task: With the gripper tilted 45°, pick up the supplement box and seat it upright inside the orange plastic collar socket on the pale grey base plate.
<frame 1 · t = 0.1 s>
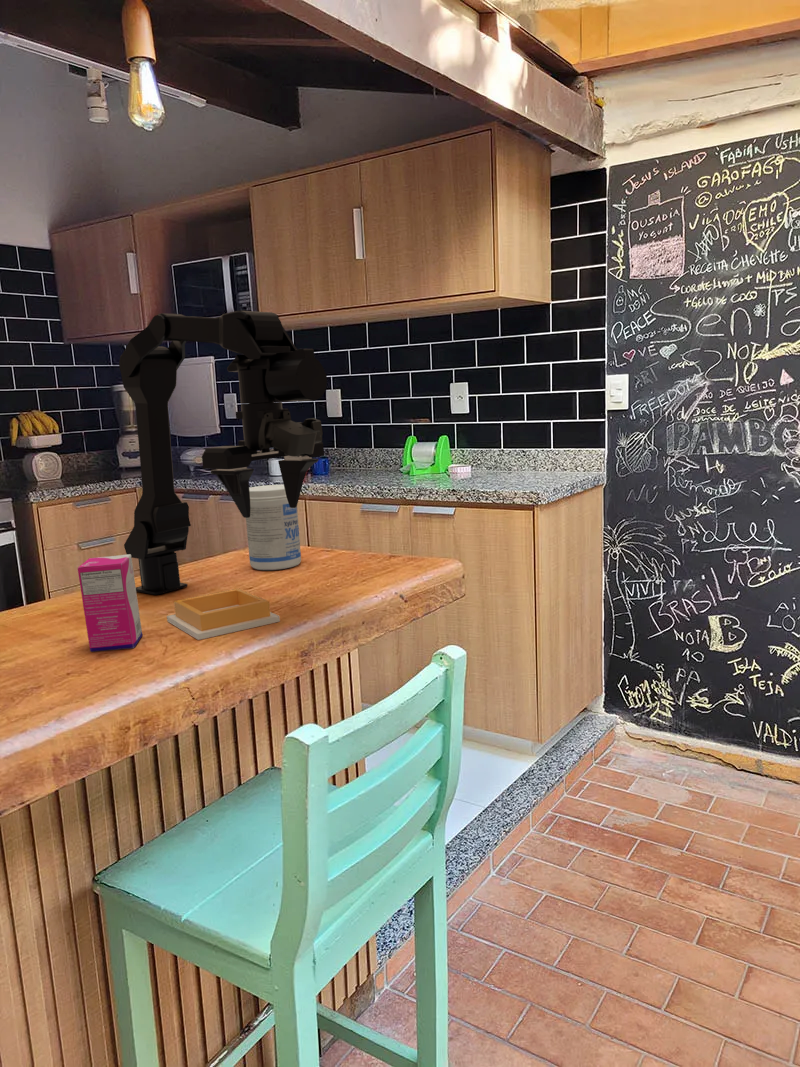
hand: (270, 512, 117), 15 cm above the worktop, tool pointing down, fingers open, 9 cm apart
supplement tub: (276, 566, 151), on the worktop
collar socket: (222, 621, 116), on the worktop
supplement box: (116, 645, 108), on the worktop
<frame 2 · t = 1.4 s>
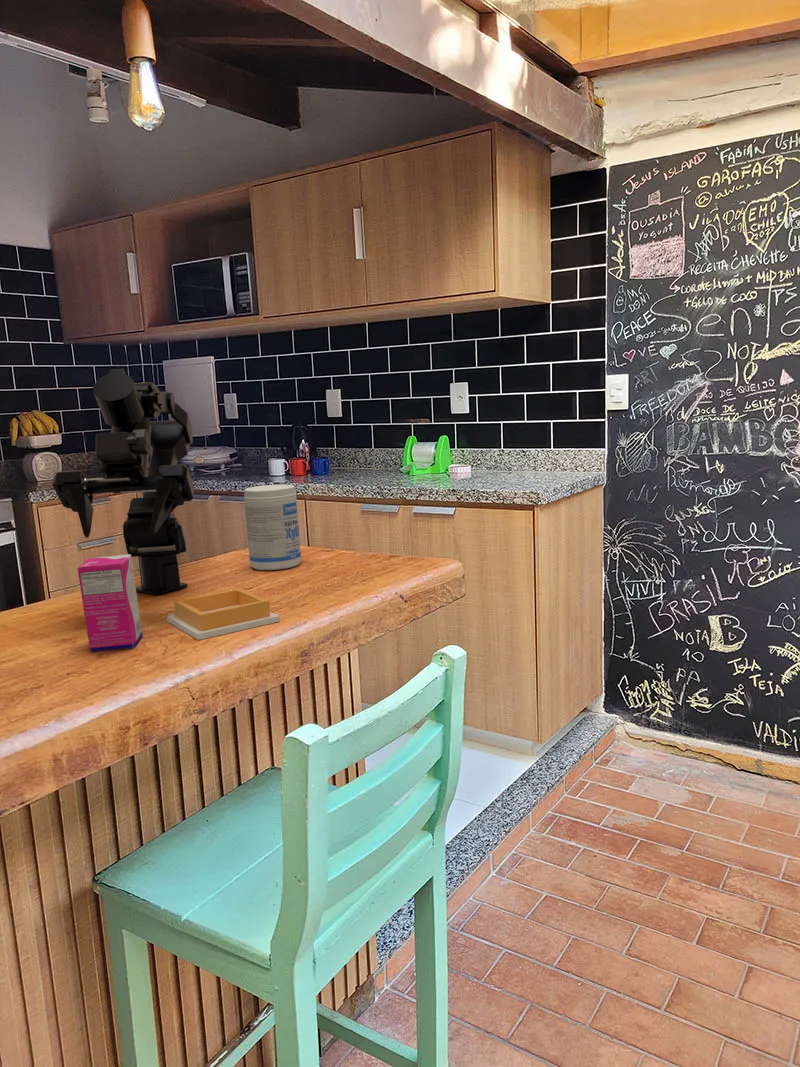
hand: (119, 533, 113), 13 cm above the worktop, tool tilted 45°, fingers open, 9 cm apart
nothing on the worktop moved.
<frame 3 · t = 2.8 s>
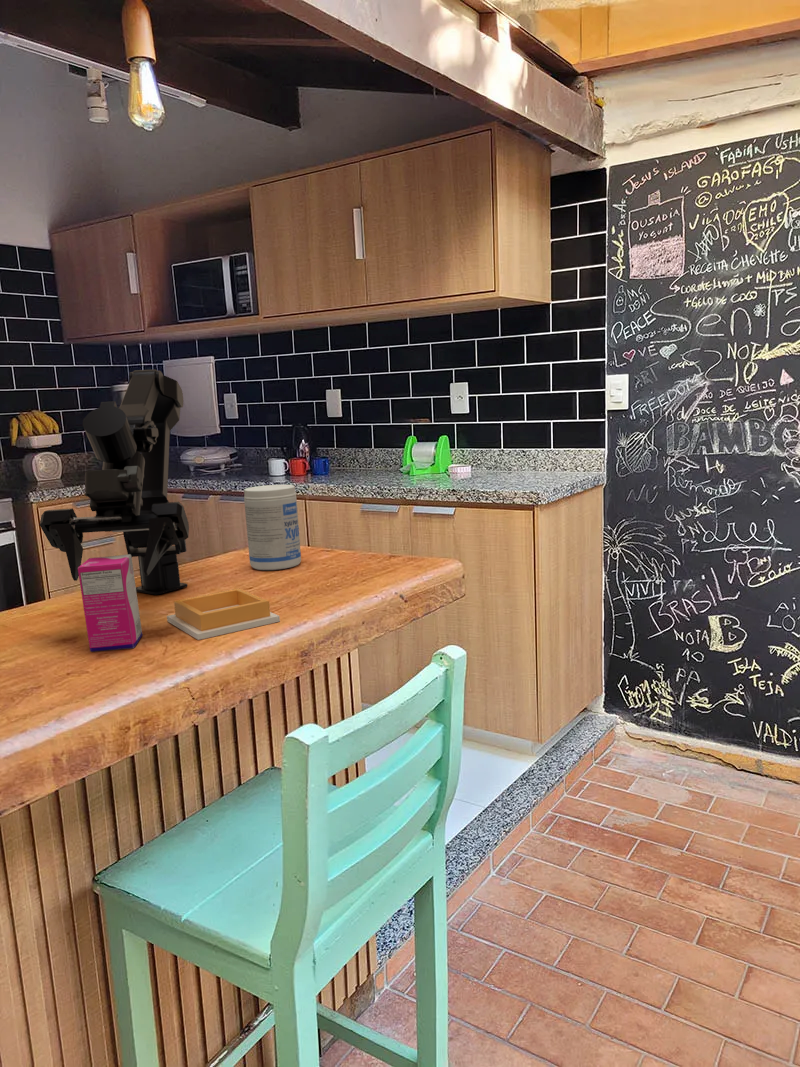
hand: (110, 576, 107), 9 cm above the worktop, tool tilted 45°, fingers open, 9 cm apart
nothing on the worktop moved.
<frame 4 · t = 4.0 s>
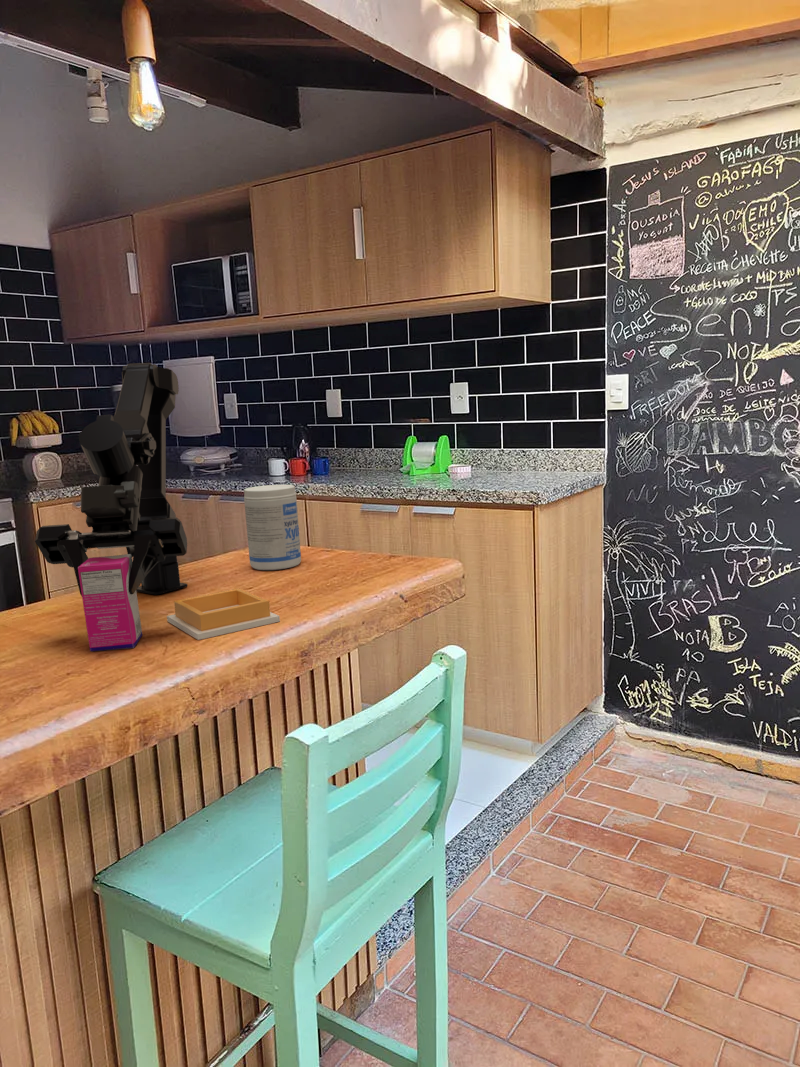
hand: (106, 594, 105), 7 cm above the worktop, tool tilted 45°, fingers closed on supplement box, 6 cm apart
supplement box: (116, 645, 108), on the worktop, touching gripper
everything else where it was.
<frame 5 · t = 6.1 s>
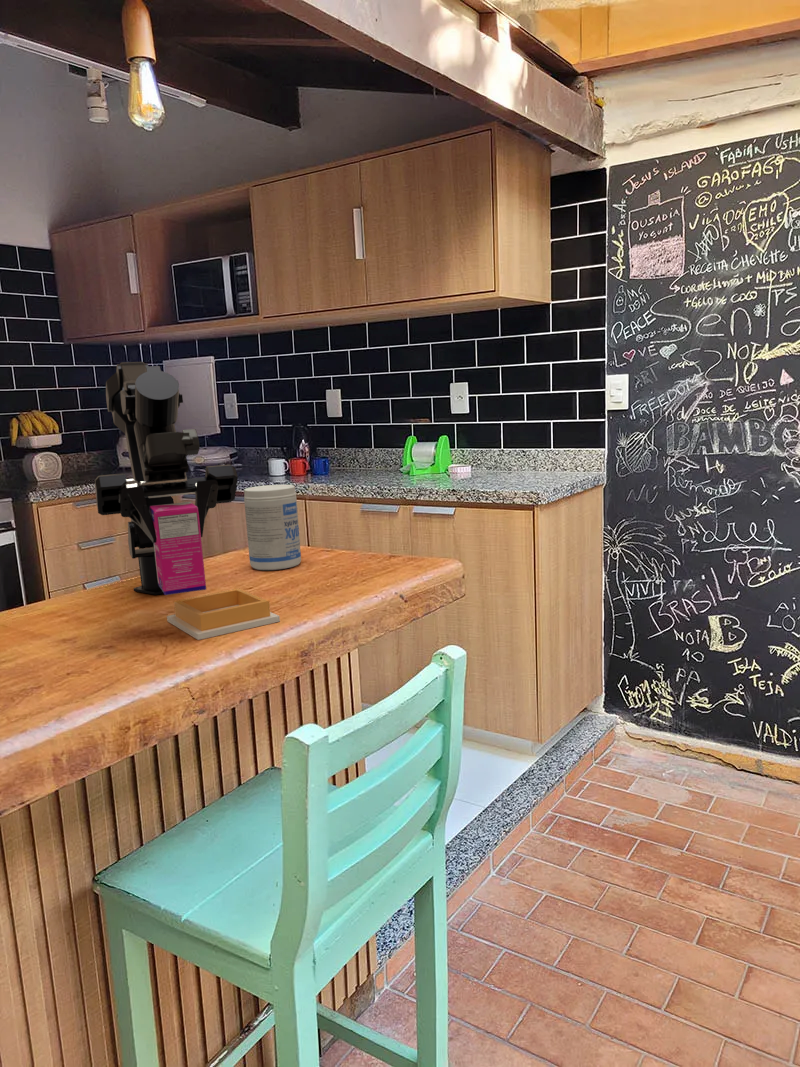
hand: (178, 538, 108), 13 cm above the worktop, tool tilted 45°, fingers closed on supplement box, 6 cm apart
supplement box: (181, 589, 111), point 6 cm above the worktop, touching gripper
everything else where it was.
when the fingers open (9 cm above the worktop, at t = 8.0 s): supplement box stays where it is, resting on collar socket.
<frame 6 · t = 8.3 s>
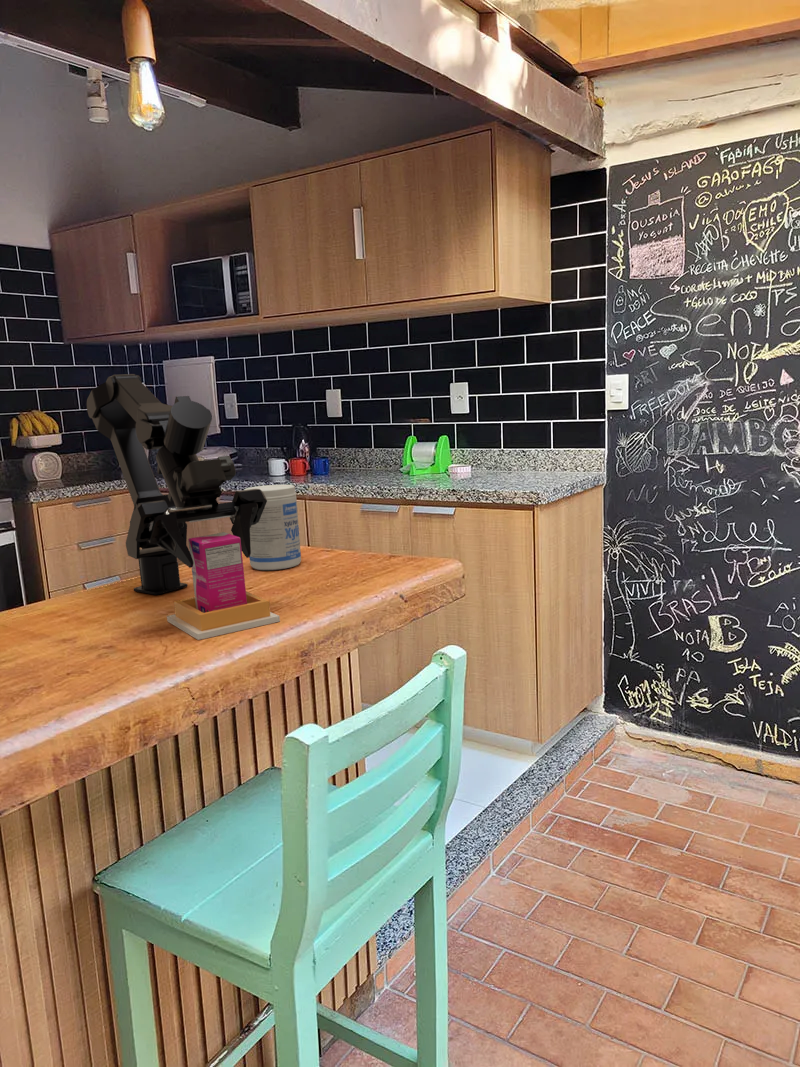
hand: (220, 560, 113), 9 cm above the worktop, tool tilted 45°, fingers open, 8 cm apart
supplement box: (222, 617, 116), point 1 cm above the worktop, touching collar socket
everything else where it was.
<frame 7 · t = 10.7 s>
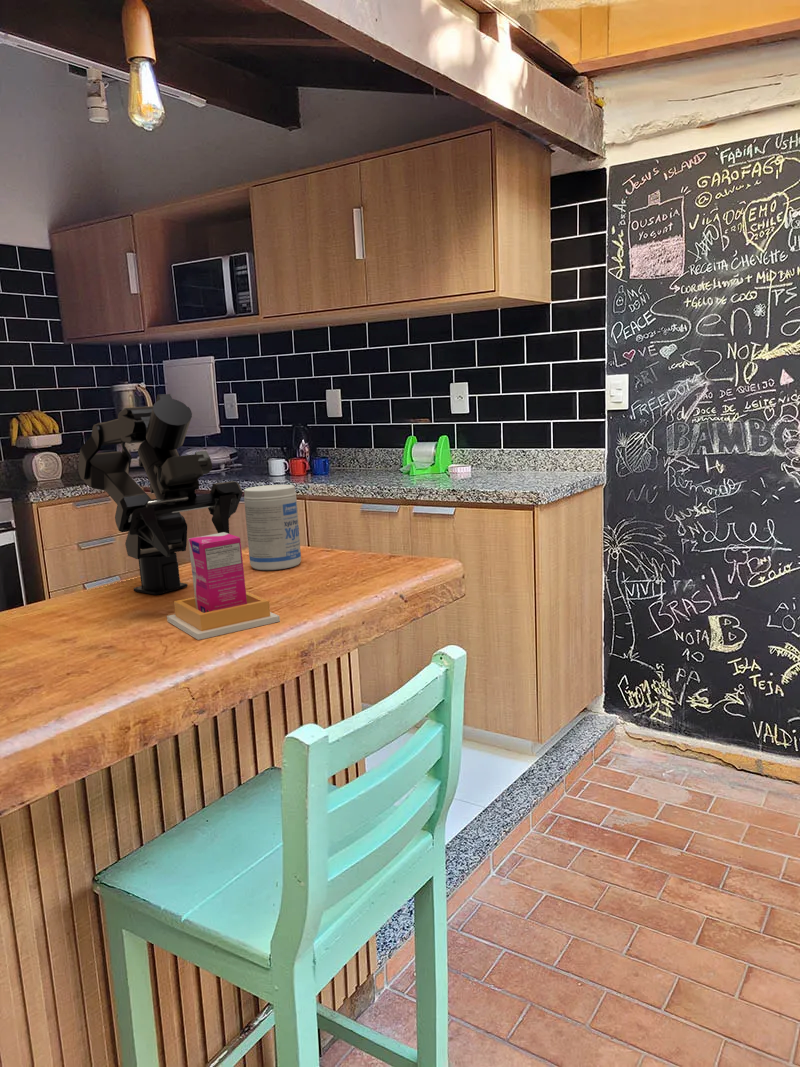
hand: (198, 549, 121), 9 cm above the worktop, tool tilted 45°, fingers open, 9 cm apart
nothing on the worktop moved.
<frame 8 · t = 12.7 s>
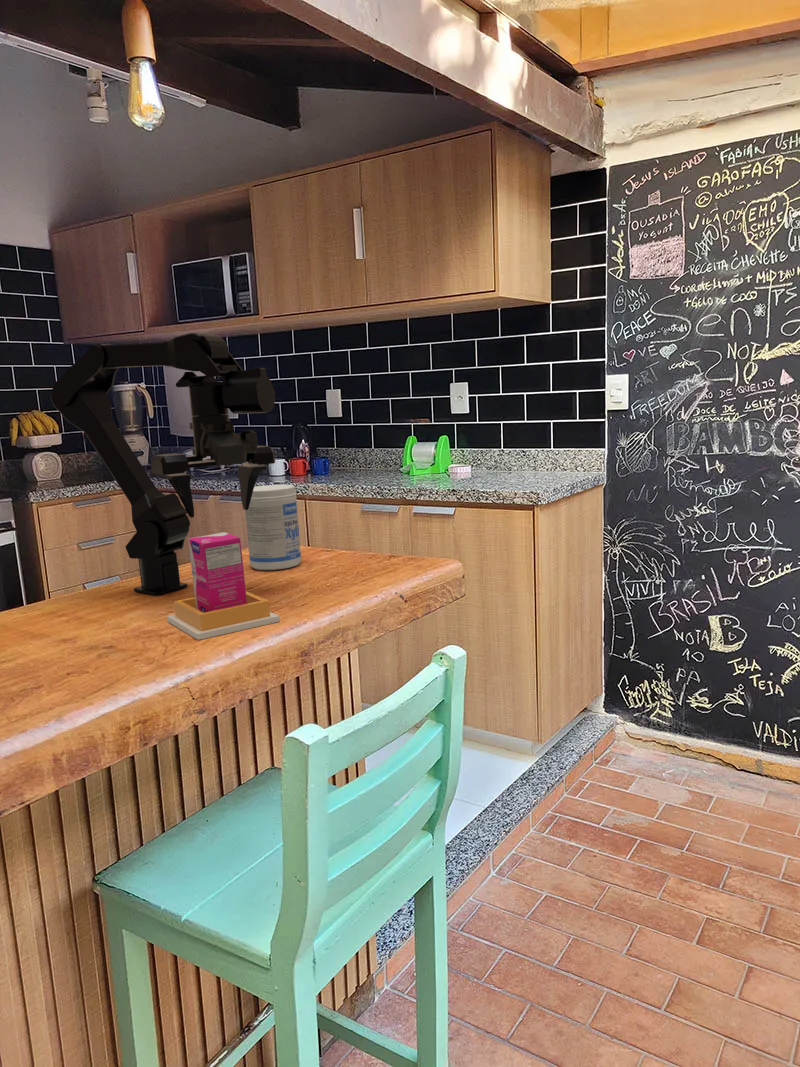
hand: (219, 513, 130), 13 cm above the worktop, tool pointing down, fingers open, 9 cm apart
nothing on the worktop moved.
at the end: supplement box 0.0 cm off-centre on the collar socket, point 0.6 cm above the collar socket's base; supplement box tilted 0°; the gripper is holding nothing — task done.
